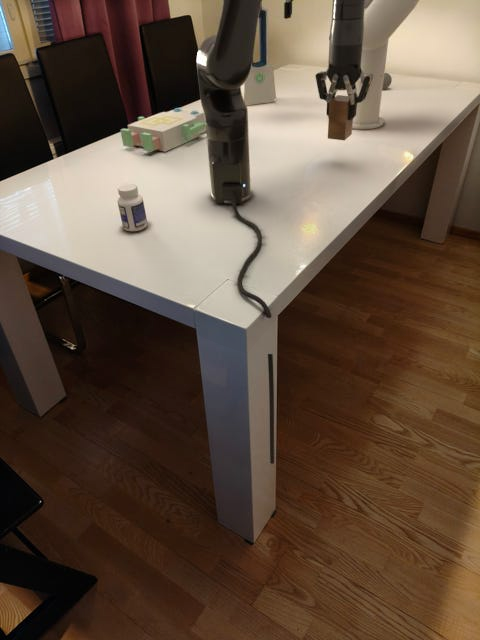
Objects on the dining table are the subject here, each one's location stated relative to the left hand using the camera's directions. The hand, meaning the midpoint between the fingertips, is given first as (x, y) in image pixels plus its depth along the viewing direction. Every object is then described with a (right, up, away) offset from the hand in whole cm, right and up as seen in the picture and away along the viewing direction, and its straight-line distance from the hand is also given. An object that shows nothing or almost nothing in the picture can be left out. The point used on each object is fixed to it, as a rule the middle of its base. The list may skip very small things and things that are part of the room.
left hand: (340, 118), depth 122 cm
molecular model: (+22, +43, +72) cm, 87 cm away
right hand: (-16, +38, +21) cm, 47 cm away
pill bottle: (-48, -30, -16) cm, 59 cm away
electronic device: (-19, +31, +60) cm, 71 cm away
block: (0, -3, +3) cm, 5 cm away
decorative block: (-48, +5, +30) cm, 57 cm away
